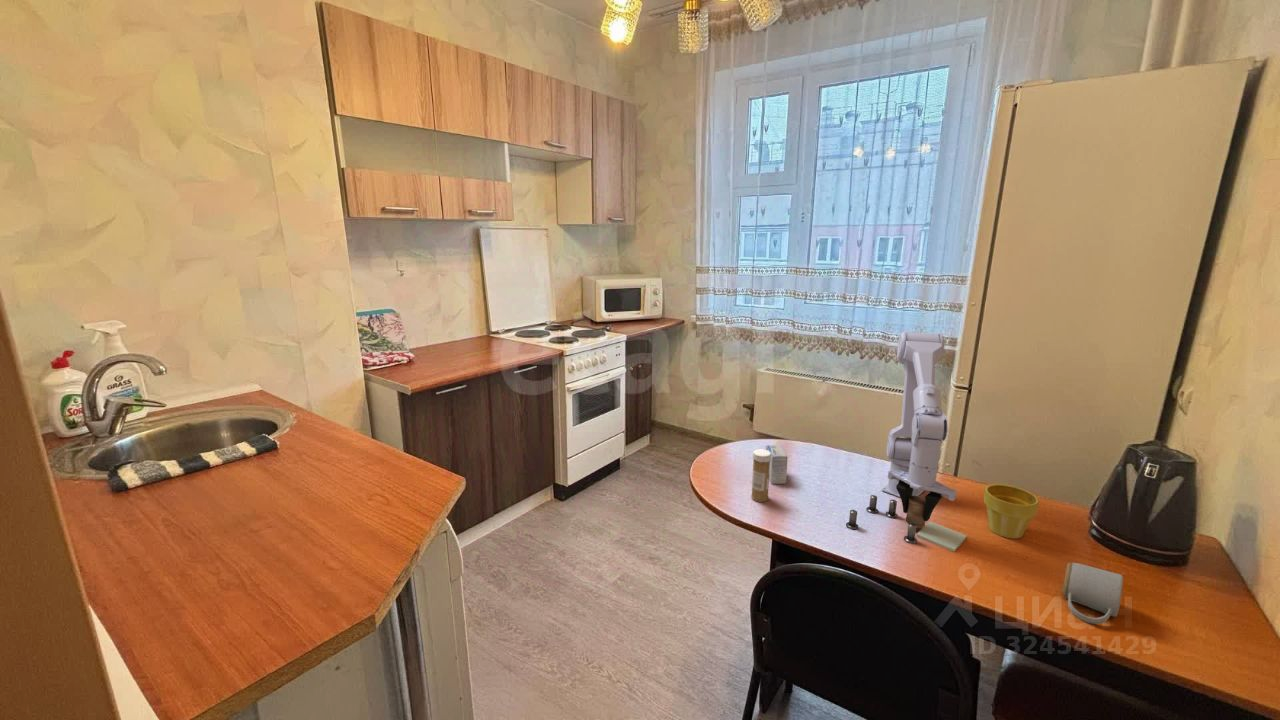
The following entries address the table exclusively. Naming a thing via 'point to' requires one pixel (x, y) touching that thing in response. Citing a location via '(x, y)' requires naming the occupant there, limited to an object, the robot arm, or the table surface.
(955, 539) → the pad
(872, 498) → the slalom posts
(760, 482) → the sprinkles bottle
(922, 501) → the walnut peg
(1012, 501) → the plant pot
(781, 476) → the medicine box
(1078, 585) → the ceramic mug
